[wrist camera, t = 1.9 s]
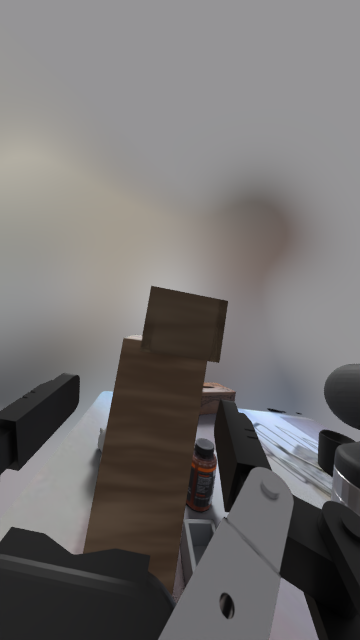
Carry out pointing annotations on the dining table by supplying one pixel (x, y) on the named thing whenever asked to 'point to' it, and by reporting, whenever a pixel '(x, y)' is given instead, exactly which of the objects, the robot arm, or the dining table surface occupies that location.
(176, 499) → the stand
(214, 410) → the tissue box cover
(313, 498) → the dining table surface
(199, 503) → the supplement bottle
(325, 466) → the pen holder
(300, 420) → the dining table surface
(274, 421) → the dining table surface
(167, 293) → the brown wooden bar
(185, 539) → the narrow grey trough
